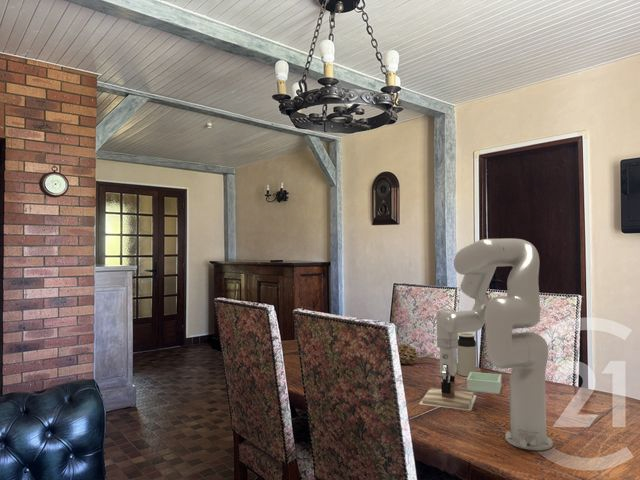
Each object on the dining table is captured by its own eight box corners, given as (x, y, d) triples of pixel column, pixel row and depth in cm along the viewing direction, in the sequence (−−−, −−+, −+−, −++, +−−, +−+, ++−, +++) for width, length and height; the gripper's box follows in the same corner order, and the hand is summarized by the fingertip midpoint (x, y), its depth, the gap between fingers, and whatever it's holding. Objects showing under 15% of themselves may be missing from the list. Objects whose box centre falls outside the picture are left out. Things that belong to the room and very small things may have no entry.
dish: (499, 395, 176) (499, 382, 176) (467, 391, 181) (466, 379, 181) (501, 386, 187) (501, 374, 187) (470, 383, 191) (470, 371, 192)
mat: (471, 412, 158) (471, 410, 158) (419, 405, 165) (419, 404, 165) (476, 396, 174) (476, 395, 174) (428, 391, 182) (428, 389, 182)
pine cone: (391, 366, 221) (391, 346, 221) (388, 362, 231) (388, 342, 231) (437, 366, 221) (437, 345, 221) (432, 361, 230) (432, 341, 231)
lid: (468, 409, 159) (468, 391, 159) (422, 403, 166) (422, 386, 166) (473, 395, 174) (473, 379, 174) (430, 390, 180) (430, 375, 181)
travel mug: (479, 377, 201) (478, 335, 202) (460, 377, 202) (460, 336, 202) (473, 372, 209) (472, 332, 210) (455, 372, 209) (455, 332, 210)
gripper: (454, 348, 161) (455, 397, 161) (460, 339, 177) (461, 384, 176) (432, 346, 164) (433, 394, 164) (441, 338, 180) (441, 382, 179)
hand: (448, 389), depth 170 cm, fingers open, 9 cm apart
